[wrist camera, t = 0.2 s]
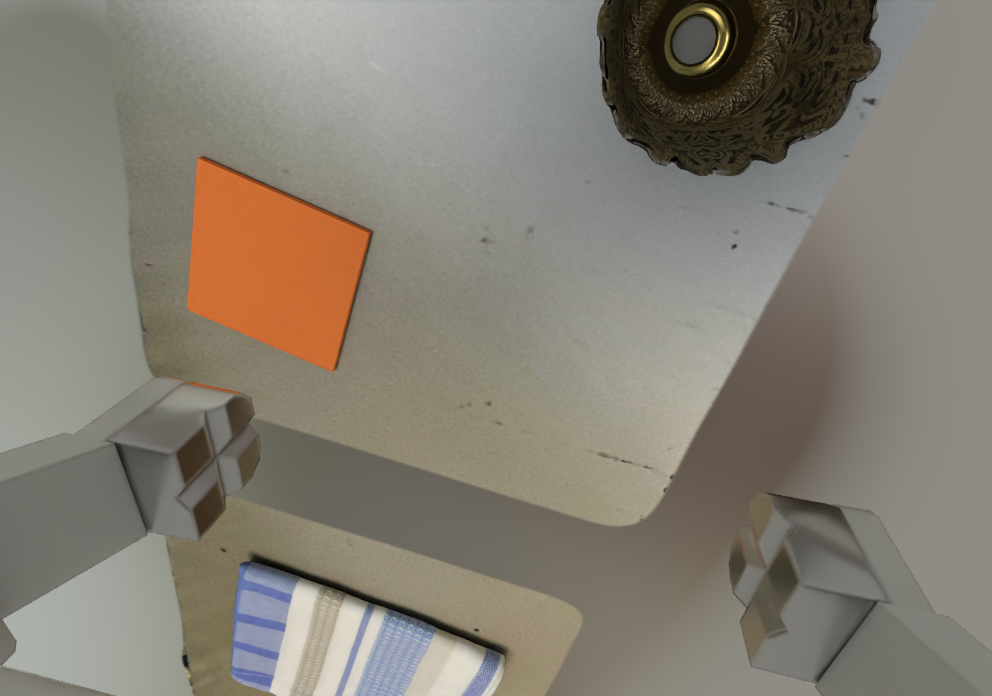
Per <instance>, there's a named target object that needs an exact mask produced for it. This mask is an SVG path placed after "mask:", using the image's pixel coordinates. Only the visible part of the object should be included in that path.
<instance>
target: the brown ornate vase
mask: <svg viewBox="0 0 992 696" xmlns="http://www.w3.org/2000/svg"><path fill="white" fill-rule="evenodd" d="M876 4H877V0H605V1H604V4H603V5H602V7H601V8H600V12H599V16H598V23H597V36H599V40H600V68H601V71H602V93H603V97H604V100H605V102H606V104H607V105H608V106H609V107H610V109H611V112H612V115H613V118H614V122H615V125H616V127H617V129H618V131H619V132H620V133H621V135H622V136H623V137H624V138H625V139H626V140H627V141H628V142H630V143H632V144H634V145H637V146H639V147H641V148H642V149H644V150H645V151H647V153H648V155H649V157H650V158H651V159H652V161H653V162H655V163H656V164H659V165H663V166H667V165H668V164H669V163H671V162H673V163H675V164H676V165H677V166H678V167H679V168H680V169H683V170H687V171H689V172H691V173H693V174H695V175H698V176H707V175H708V174H713V172H715V173H716V174H717V175H726V176H735V175H739V174H741V173H743V172H744V171H745V170H746V169H747V168H748V167H749V166H750V164H751V162H752V161H753V160H761V161H764V162H767V163H771V164H776V163H778V162H780V161H782V160H783V159H784V158H785V157H786V155H787V151H788V149H789V146H790V145H792V144H794V143H796V142H798V141H801V140H804V139H809V138H812V137H815V136H817V135H819V134H821V133H822V132H824V131H826V130H828V129H830V128H831V127H833V126H834V125H835V124H836V123H837V122H838V121H839V120H840V118H841V117H842V115H843V113H844V112H845V110H846V108H847V106H848V104H849V101H850V99H851V96H852V92H853V89H854V87H855V85H856V83H857V82H861V81H863V80H865V79H866V78H867V77H868V76H869V75H870V74H871V73H872V72H873V71H874V69H875V68H876V67H877V65H878V64H879V61H880V57H881V49H880V48H879V47H878V46H877V45H876V43H875V42H874V40H873V41H871V39H870V38H869V37H870V33H871V29H872V27H873V25H874V23H875V22H876V20H877V18H878V13H877V11H876ZM698 16H699V17H704V18H707V19H708V20H710V21H711V22H712V24H713V25H714V27H715V30H716V42H715V45H714V48H713V50H712V51H711V53H710V54H709V55H708V56H707V57H706V58H705V59H704V60H702V61H701V62H698V63H695V64H686V63H683V62H681V61H680V60H679V59H678V58H677V57H676V56H675V54H674V51H673V38H674V35H675V32H676V30H677V29H678V27H679V26H680V25H681V24H682V23H683V22H684V21H686V20H687V19H689V18H692V17H698ZM871 44H872V45H873V46H874V47H873V46H872V45H871Z"/></svg>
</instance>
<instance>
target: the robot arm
mask: <svg viewBox="0 0 992 696" xmlns="http://www.w3.org/2000/svg"><path fill="white" fill-rule="evenodd" d="M254 415H255V412H254V408H253V403H252V399H251V398H250V397H249V396H247V395H245V394H244V393H240V392H235V391H231V390H226V389H221V388H217V387H212V386H207V385H203V384H198V383H194V382H186V381H182V380H177V379H172V378H168V377H159V378H153V379H151V380H149V381H148V382H147V383H145V384H144V385H143V386H141V387H140V388H138V389H137V390H135V391H134V392H133V393H131V394H130V395H128V396H127V397H126V398H124V399H123V400H121V401H120V402H119V403H117V404H116V405H115V406H113V407H112V408H110V409H109V410H107V411H106V412H105V413H104V414H102V415H100V416H99V417H98V418H96V419H95V420H93V421H92V422H91V423H89V424H88V425H86V426H85V427H84V428H82V429H81V430H80V431H78V432H77V433H75V434H74V435H73V434H68V433H62V434H59V435H56V436H53V437H50V438H47V439H44V440H40V441H37V442H34V443H31V444H28V445H24V446H22V447H18V448H15V449H12V450H9V451H5V452H3V453H0V696H114V695H111V694H107V693H103V692H100V691H96V690H92V689H89V688H85V687H81V686H77V685H74V684H70V683H66V682H62V681H59V680H54V679H51V678H47V677H44V676H40V675H36V674H32V673H29V672H25V671H21V670H17V669H14V668H10V667H6V666H3V664H4V663H5V662H6V661H7V660H8V658H10V656H12V655H13V653H14V652H15V650H16V642H17V641H16V640H15V638H14V637H13V635H12V634H11V632H10V630H9V629H8V627H7V626H6V624H5V623H4V621H3V620H2V619H3V618H5V617H7V616H8V615H10V614H12V613H14V612H16V611H17V610H19V609H21V608H22V607H24V606H26V605H28V604H29V603H31V602H33V601H34V600H36V599H38V598H40V597H41V596H43V595H45V594H46V593H48V592H50V591H52V590H53V589H55V588H57V587H58V586H60V585H62V584H64V583H66V582H67V581H69V580H71V579H72V578H74V577H76V576H78V575H79V574H81V573H83V572H84V571H86V570H88V569H90V568H91V567H93V566H95V565H97V564H98V563H100V562H102V561H103V560H105V559H107V558H109V557H110V556H112V555H114V554H116V553H117V552H119V551H121V550H122V549H124V548H126V547H127V546H129V545H131V544H133V543H135V542H136V541H138V540H140V539H141V538H143V537H145V536H147V534H148V533H147V532H151V533H156V534H161V535H166V536H171V537H177V538H182V539H187V540H192V541H197V542H199V541H200V539H201V538H202V537H203V536H204V535H205V533H206V532H207V531H208V530H209V529H210V527H211V526H212V525H213V524H214V523H215V522H216V520H217V519H218V518H219V517H220V516H221V514H222V513H223V512H224V511H225V510H226V506H225V497H227V496H229V495H231V494H233V493H235V492H238V491H239V490H242V489H243V488H244V486H245V485H246V484H247V483H248V481H249V480H250V479H251V478H252V476H253V474H254V472H255V469H256V467H257V465H258V462H259V459H260V449H261V446H260V439H259V435H258V433H256V431H255V430H254V429H253V428H252V427H251V425H250V424H249V421H250V420H251V419H252V417H253V416H254ZM748 512H749V516H750V520H751V524H749V525H747V526H745V527H743V528H741V529H739V530H738V531H737V534H736V536H735V538H734V541H733V543H732V546H731V552H730V560H729V571H730V581H731V585H732V590H733V594H734V595H735V596H736V597H737V598H738V599H739V600H740V601H741V603H742V604H743V605H744V606H745V607H746V608H747V609H746V611H745V613H744V615H743V616H742V618H741V620H740V624H741V628H742V632H743V637H744V641H745V645H746V649H747V653H748V657H749V661H750V666H751V667H753V668H757V669H761V670H765V671H769V672H773V673H776V674H780V675H784V676H788V677H792V678H796V679H800V680H804V681H808V682H812V683H816V685H815V687H816V689H817V690H818V691H819V693H820V694H821V696H992V651H990V650H989V649H988V648H987V647H986V646H984V645H983V644H982V643H980V642H979V641H978V640H977V639H976V638H975V637H973V636H972V635H971V634H970V633H968V632H967V631H966V630H965V629H964V628H962V627H961V626H960V625H959V624H957V623H956V622H955V621H954V620H952V619H951V618H950V617H949V616H944V615H940V614H936V613H935V611H934V610H933V608H932V606H931V605H930V603H929V601H928V599H927V598H926V596H925V594H924V593H923V591H922V589H921V588H920V586H919V584H918V583H917V581H916V580H915V578H914V576H913V574H912V572H911V571H910V569H909V567H908V566H907V564H906V562H905V561H904V559H903V557H902V556H901V554H900V552H899V551H898V549H897V547H896V545H895V544H894V542H893V540H892V539H891V537H890V535H889V534H888V532H887V530H886V528H885V527H884V525H883V524H882V522H881V520H880V518H879V517H878V516H876V515H875V514H874V513H873V512H871V511H870V510H864V509H858V508H852V507H846V506H840V505H835V504H832V505H829V504H825V503H820V502H814V501H809V500H803V499H798V498H793V497H787V496H782V495H776V494H771V493H765V492H759V493H758V494H757V495H756V496H755V497H754V498H753V500H752V502H751V504H750V506H749V508H748Z"/></svg>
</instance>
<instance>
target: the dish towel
mask: <svg viewBox="0 0 992 696" xmlns="http://www.w3.org/2000/svg"><path fill="white" fill-rule="evenodd" d="M231 665H232V666H231V675H232V677H233V679H234V680H236V681H238V682H239V683H241V684H243V685H246V686H250V687H253V688H256V689H260V690H263V691H267V692H271V693H274V694H275V695H276V696H492V695H493V693H494V691H495V690H496V688H497V686H498V685H499V683H500V681H501V679H502V676H503V673H504V671H505V666H506V660H505V657H504V655H502V654H500V653H498V652H496V651H494V650H491V649H488V648H485V647H482V646H480V645H478V644H475V643H472V642H470V641H468V640H465V639H463V638H460V637H458V636H455V635H453V634H450V633H448V632H445V631H443V630H440V629H438V628H436V627H435V626H433V625H430V624H428V623H426V622H424V621H421V620H418V619H416V618H413V617H410V616H407V615H404V614H401V613H399V612H396V611H393V610H390V609H387V608H384V607H381V606H378V605H375V604H372V603H369V602H366V601H363V600H361V599H359V598H356V597H353V596H350V595H348V594H346V593H344V592H342V591H338V590H336V589H334V588H331V587H327V586H324V585H321V584H317V583H315V582H312V581H309V580H306V579H303V578H301V577H299V576H296V575H293V574H290V573H287V572H284V571H281V570H279V569H275V568H272V567H269V566H265V565H262V564H258V563H254V562H243V563H241V564H240V565H239V581H238V588H237V594H236V601H235V611H234V629H233V647H232V660H231Z"/></svg>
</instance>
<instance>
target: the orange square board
mask: <svg viewBox="0 0 992 696" xmlns="http://www.w3.org/2000/svg"><path fill="white" fill-rule="evenodd" d="M371 234H372V231H370V230H368V229H365V228H363V227H361V226H358V225H356V224H354V223H352V222H349V221H347V220H345V219H343V218H340V217H338V216H336V215H334V214H331V213H329V212H327V211H324V210H322V209H320V208H318V207H315V206H313V205H311V204H309V203H306V202H304V201H302V200H299V199H297V198H295V197H293V196H290V195H288V194H286V193H284V192H281V191H279V190H277V189H275V188H272V187H270V186H268V185H265V184H263V183H261V182H259V181H256V180H254V179H252V178H250V177H247V176H245V175H243V174H240V173H238V172H236V171H234V170H231V169H229V168H227V167H225V166H222V165H220V164H218V163H215V162H213V161H211V160H209V159H206V158H204V157H200V158H198V161H197V175H196V190H195V204H194V219H193V234H192V248H191V263H190V277H189V292H188V307H187V310H189V311H192V312H194V313H196V314H199V315H201V316H203V317H206V318H208V319H210V320H213V321H215V322H217V323H220V324H222V325H224V326H227V327H229V328H231V329H234V330H236V331H238V332H241V333H243V334H245V335H248V336H250V337H252V338H255V339H257V340H259V341H262V342H264V343H266V344H269V345H271V346H273V347H276V348H278V349H280V350H283V351H285V352H287V353H290V354H292V355H294V356H297V357H299V358H301V359H304V360H306V361H308V362H311V363H313V364H315V365H317V366H320V367H322V368H324V369H327V370H329V371H331V372H333V371H334V370H335V369H336V365H337V362H338V358H339V354H340V350H341V347H342V343H343V339H344V335H345V332H346V328H347V324H348V320H349V317H350V313H351V309H352V305H353V301H354V298H355V294H356V290H357V286H358V283H359V279H360V275H361V271H362V268H363V264H364V260H365V256H366V253H367V249H368V245H369V241H370V238H371Z"/></svg>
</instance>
